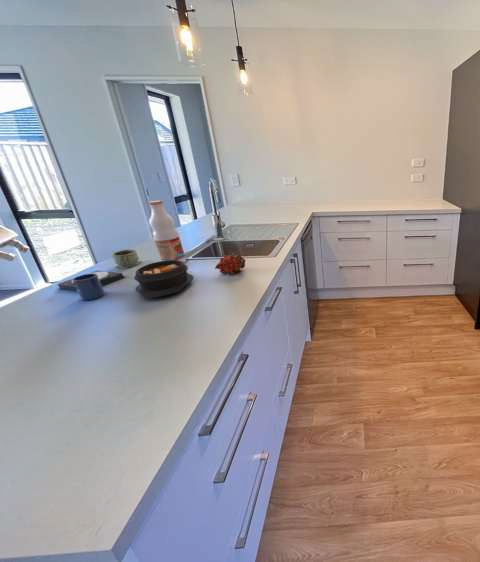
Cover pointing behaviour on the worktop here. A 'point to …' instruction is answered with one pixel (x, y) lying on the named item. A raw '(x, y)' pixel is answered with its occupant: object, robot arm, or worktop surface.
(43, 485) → the worktop surface
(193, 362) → the worktop surface
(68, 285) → the scale
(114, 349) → the worktop surface
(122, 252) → the vessel
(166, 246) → the fruit juice
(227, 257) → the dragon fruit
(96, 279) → the dark blue cup
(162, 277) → the casserole
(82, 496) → the worktop surface
